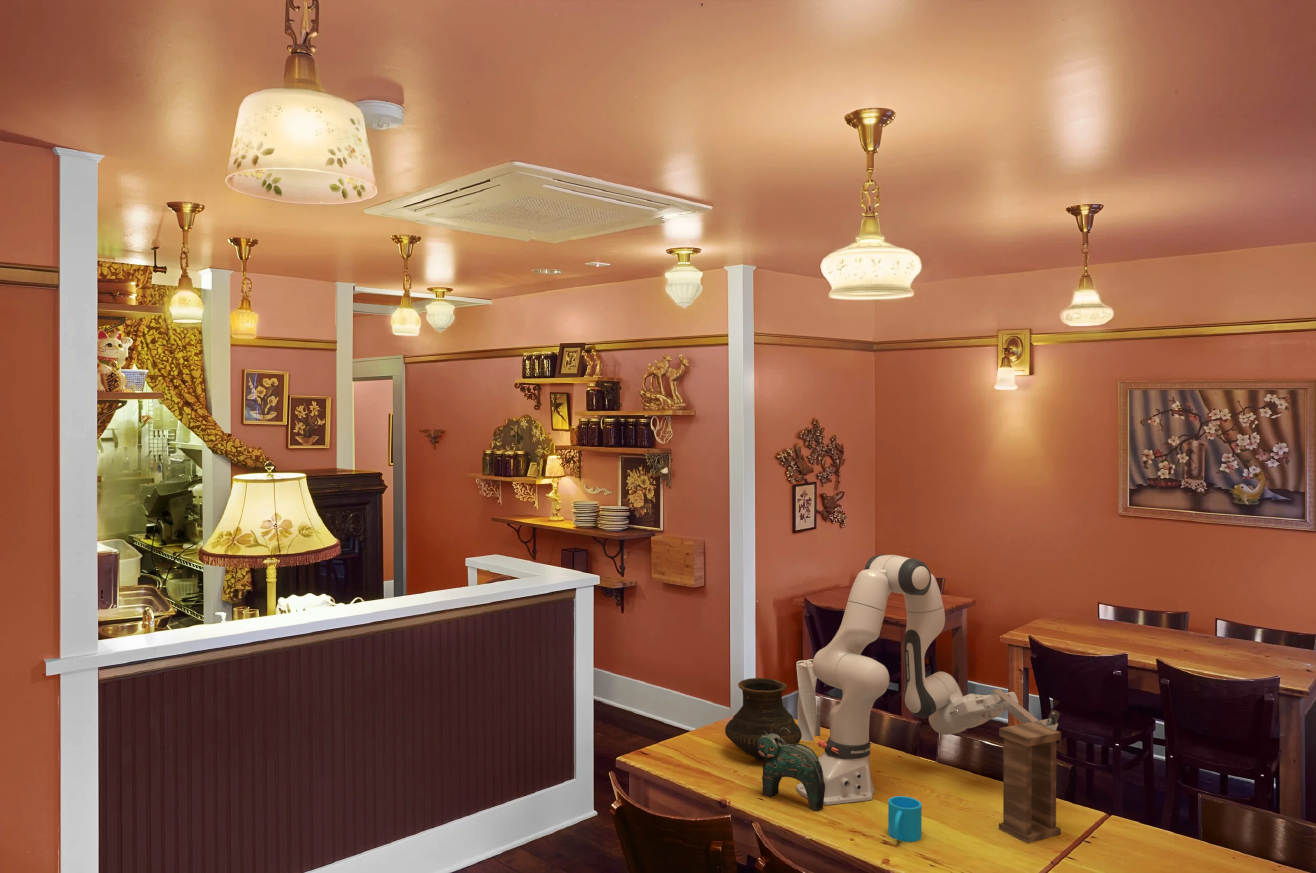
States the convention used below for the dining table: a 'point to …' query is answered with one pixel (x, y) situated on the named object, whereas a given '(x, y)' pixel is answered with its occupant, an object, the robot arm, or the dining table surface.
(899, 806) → the mug
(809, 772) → the ceramic cat
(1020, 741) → the shelf stand
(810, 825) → the dining table surface
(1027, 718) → the crank handle
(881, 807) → the dining table surface
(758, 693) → the ceramic pot
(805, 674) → the skyscraper
